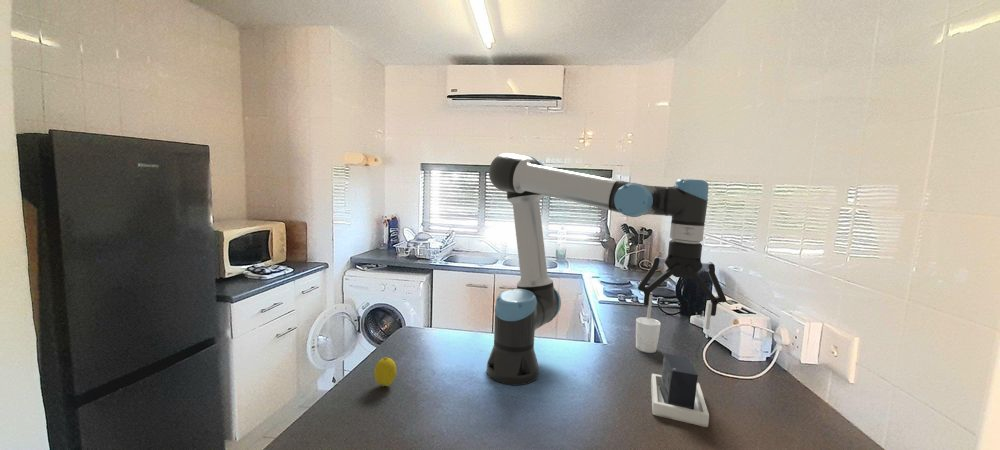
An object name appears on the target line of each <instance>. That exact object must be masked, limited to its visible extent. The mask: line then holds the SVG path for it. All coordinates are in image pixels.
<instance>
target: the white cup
mask: <svg viewBox="0 0 1000 450" xmlns="http://www.w3.org/2000/svg"><path fill="white" fill-rule="evenodd" d="M660 329H661V322H660V321H659V320H657V319H655V318H651V317H650V319H647V316H644V317H642V316H641V317H640V316H639V317H636V319H635V348H636V349H637V350H638V351H640V352H642V353H649V354H652V353H656V352H657V348H658V343H659V337H660Z"/></svg>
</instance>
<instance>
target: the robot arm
mask: <svg viewBox="0 0 1000 450" xmlns="http://www.w3.org/2000/svg"><path fill="white" fill-rule="evenodd" d="M488 169H489V170H488V177H489V180H490V183H491V184H492V186H494V187H495V188H496V189H497V190H499V191H502V192H505V193H506V198H507V199H506V200H507V201H508V202H509V203H510V204H511V205H512V209H513V219H514V227H515V228H514V229H515V237H516V246H517V254H518V257H517V258H518V266H519V274H520V278H519V281H518V282H517V283H516V288H513V289H508V290H504V291H502V292H501V293H500V294H499V295H498V296H497V297H496V300H495V306H494V314H495V315H494V329H493V330H494V334H493V335H494V336H493V346H492V349H491V352H490V354H489V357H488V360H487V362H486V374H487V373H488V374H487V376H488V377H489V376H490V377H489V378H491V379H492V380H494V381H495V382H498V383H500V384H503V385H504V384H505V385H509V386H510V385H511V386H522V385H526V384H531V383H532V382H534V381H536V380H537V379H538V377H539V367H540V366H539V362H538V358H537V355H536V351H535V335H536V334H535V333H536V330H537V329H539V328H541V327H543V326H544V325H546V324H548V323H550V322H552V321H553V319H554V318H555V317H557V315H558V314H559V312H560V310H561V306H562V301H561V300H562V298H561V295H560V292H558V290H556V288H555V287H554V280H553V279H552V278H550V276H549V275H548V268H547V267H548V266H547V260H546V258H547V257H546V250H545V241H544V232H543V231H544V230H543V224H542V223H543V222H542V215H541V214H542V213H541V205H540V201H541V200H542V199H543V197H544V196H547V197H550V198H555V199H559V200H562V201H563V200H564V201H569V202H571V203H572V202H573V203H578V204H582V205H585V206H590V207H595V208H599V209H603V210H608V211H611V212H616V213H619V214H622V215H623V216H625V217H631V218H638V217H639V218H640V217H641V216H647V215H652V216H666V217H671V222H670V229H669V230H670V231H669V232H670V233H669V238H670V239H671V240H669V242H668V250H667V256H666V258H662V257H659V256H654V258H653V263H652V264H651V266H650V267H649V269H648V271H647V272H646V273H645V275H644V276H643V278H642V279H641V280H640V282H639V283H638V285H637V289H638V291H641V292H643V293H644V294H643V295H644V298H643V305H644V306H647V312H646V317H647V319H650V318H651V316H652V315H651V313H652V304H653V291H654V290H655V289H657V288H658V287H659V286H660V285H661V284H663V282H665V281H666V280H667V279H669V278H671V276H674V277H675V278H683V279H686V280H687V279H688V280H689V279H691V278H693V279H694V281H695V282H696V283H697V284H698V285H699V287H700V288H701V289H702V291H703V292H704V293H705V295H706V296H707V297H708V298H709V300H706V305H705V315H704V322H703V323H704V324H703V325H704V328H705V329H706V330H710V326H711V324H710V323H711V316H712V317H715V316H716V314H717V307H718V305H719V304H720V303H727V297H726V295H725V293H724V291H723V289H722V287H721V284H720V282H719V280H718V277H717V275H716V267H715V264H714V263H713V262H711V261H709V262H702V261H701V259H702V250H703V244H702V243H701V242H703V241H704V234H705V232H704V231H705V224H706V215H707V209H708V202H709V201H708V200H709V183H708V182H707V181H706V180H703V179H695V178H694V179H691V178H689V179H687V178H686V179H683V178H678V179H677V180H676V181H675V184H674V185H673V186H660V185H659V186H657V185H648V184H647V185H646V184H641V183H636V182H629V181H624V180H618V179H614V178H608V177H602V176H597V175H592V174H591V175H590V174H587V173H581V172H575V171H570V170H565V169H559V168H554V167H551V166H550V167H548V166H545V165H544V164H543V163H542V162H541V161H540V160H538V159H536V158H534V157H533V156H531V155H530V156H529V155H522V154H516V153H511V152H506V153H501V154H499V155H497V156H496V157H494V159H493V160H492V161H491V163H490V164H489V168H488ZM663 264H665V266H666V267H667V269H666V270H664V271H663V272H662V273H661V274H660V275H659V276H657V278H655V279H654V280H653V281H652V282H651V283H650V284H648V282H649V281H650V279H651V278H652V277H653V275H654V274H655V272H656V271H657V270H658V267H661V266H662V265H663ZM702 269H704V271H705V272H706V273H708V275H709V278H710V280H711V282H712V285H713V287H714V290H715V292H716V294H717V296H715V295H714V293H713V292H712V291H711V290H710V289H709V287H708V286H707V285H706V284H705V282H704V281H703V279H702V278H701V277H700V276H699V274H698V273H699V271H700V270H702ZM647 284H648V285H647ZM646 285H647V286H646Z"/></svg>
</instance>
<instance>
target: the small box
mask: <svg viewBox="0 0 1000 450" xmlns="http://www.w3.org/2000/svg"><path fill="white" fill-rule="evenodd" d="M662 356H663V357H662V369H661V375H662V376H661V384H660V391H661V394H662V397H663V399H664V402H665V403H666V404H670V405H675V406H679V407H683V408H688V409H692V410H694V404H695V395H696V386H697V383H698V379H699V374H698V372H697V370H696V368H695V367H694V366H693V364H692V363H691V361H690V359H689V358H688V356H684V355H676V354H671V353H665V352H664V353H663V355H662Z"/></svg>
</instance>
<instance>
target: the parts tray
mask: <svg viewBox="0 0 1000 450" xmlns="http://www.w3.org/2000/svg"><path fill="white" fill-rule="evenodd" d="M661 376H662V374H656V373H651V377H650V379H651V380H650V388H651V389H650V390H651V391H650V393H651V410H652V411H651V413H652V415H653V416H657V417H662V418H666V419H671V420H674V421H678V422H683V423H686V424H691V425H696V426H699V427H703V428H709V422H710V421H709V420H710V414H709V409H708V407H707V404H706V401H705V398H704V397H705V396H704V394H703V391H702V388H701V385H700V383H699V382H697V386H696V395H695V404H694V410H692V409H688V408H683V407H679V406H675V405H670V404H666V403H665V402H664V399H663V397H662V394H661V391H660V384H661Z"/></svg>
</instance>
